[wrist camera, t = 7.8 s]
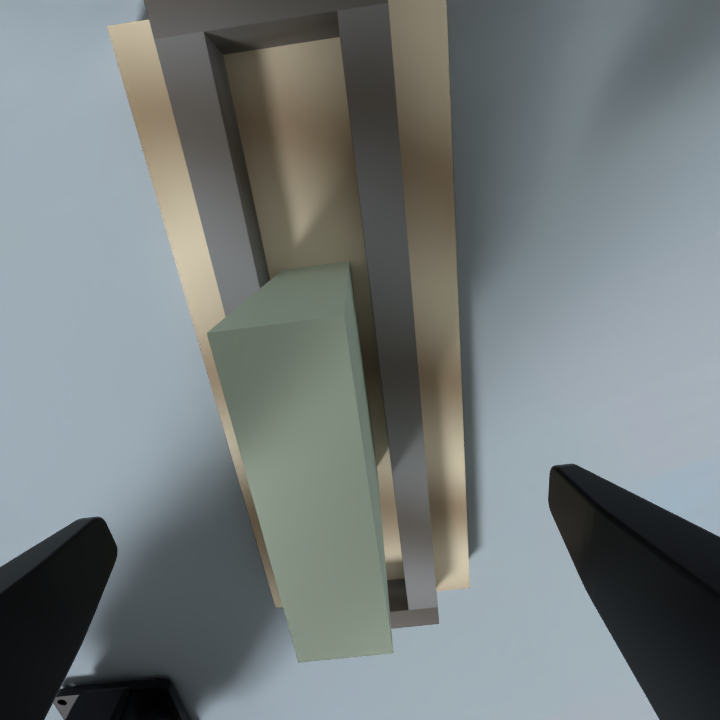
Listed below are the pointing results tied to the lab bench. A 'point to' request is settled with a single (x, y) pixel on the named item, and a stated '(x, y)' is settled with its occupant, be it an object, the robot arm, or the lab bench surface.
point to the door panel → (310, 456)
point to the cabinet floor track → (323, 221)
